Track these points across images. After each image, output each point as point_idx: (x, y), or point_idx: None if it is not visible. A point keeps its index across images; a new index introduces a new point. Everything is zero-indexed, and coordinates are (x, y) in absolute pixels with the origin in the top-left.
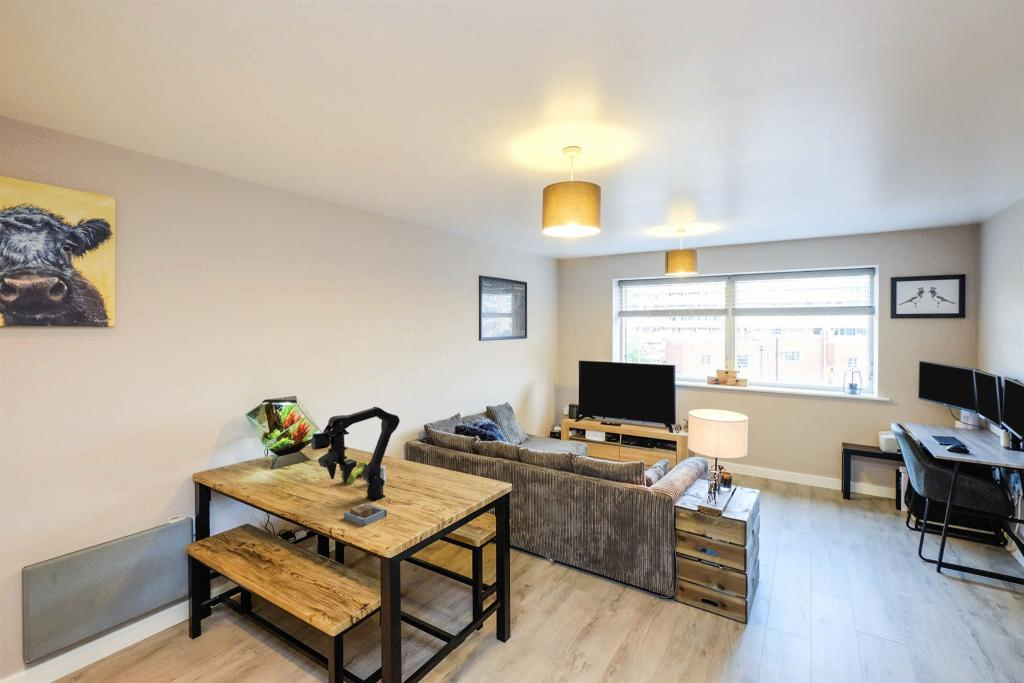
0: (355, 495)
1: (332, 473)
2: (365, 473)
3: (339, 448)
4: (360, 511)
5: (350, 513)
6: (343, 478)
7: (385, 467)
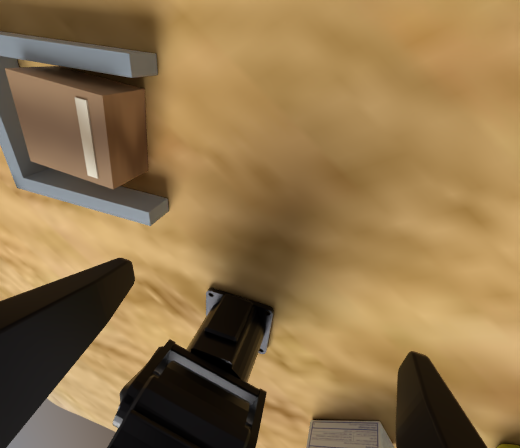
0: (356, 330)
1: None
2: (163, 442)
3: None
4: (17, 88)
5: (84, 65)
6: (54, 292)
7: None
